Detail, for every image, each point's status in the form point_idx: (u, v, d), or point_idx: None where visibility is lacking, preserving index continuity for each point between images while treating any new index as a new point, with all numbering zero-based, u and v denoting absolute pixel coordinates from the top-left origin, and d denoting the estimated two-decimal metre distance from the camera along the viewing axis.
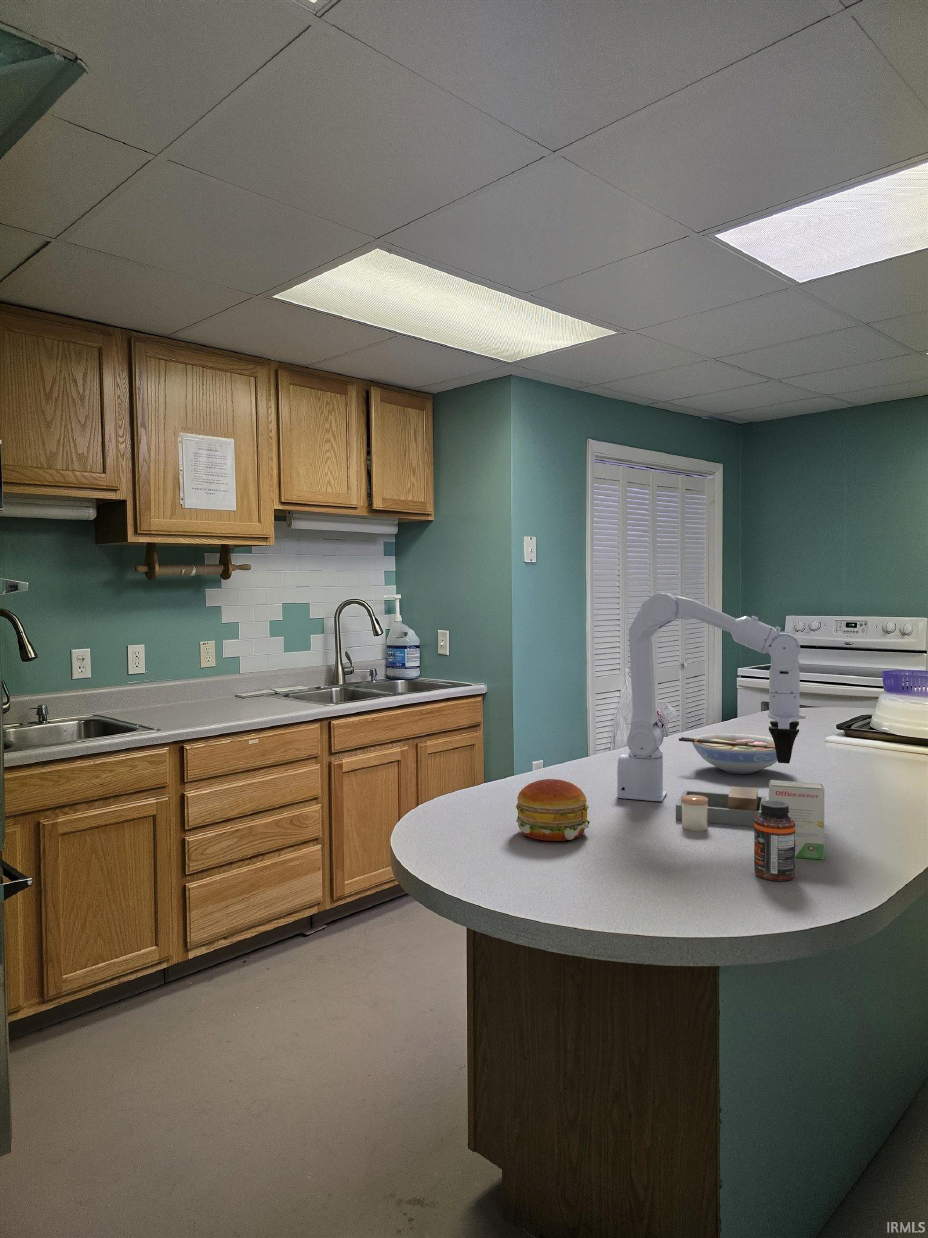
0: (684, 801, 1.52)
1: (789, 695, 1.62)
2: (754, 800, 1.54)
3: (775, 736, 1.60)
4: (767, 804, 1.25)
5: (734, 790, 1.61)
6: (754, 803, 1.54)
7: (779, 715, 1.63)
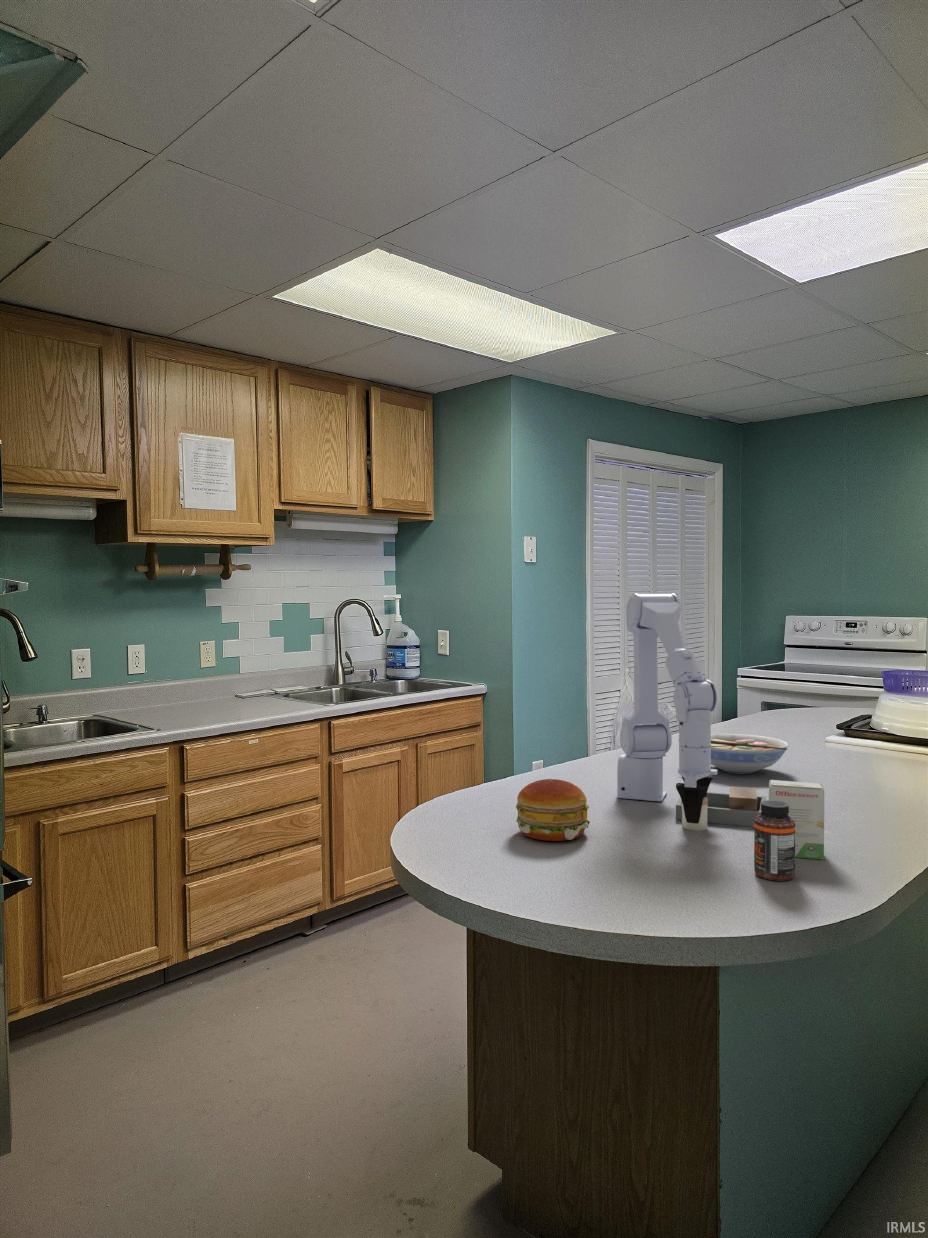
0: None
1: (698, 749, 1.50)
2: (755, 800, 1.54)
3: (682, 794, 1.48)
4: (767, 804, 1.25)
5: (734, 790, 1.61)
6: (755, 803, 1.54)
7: (688, 771, 1.50)
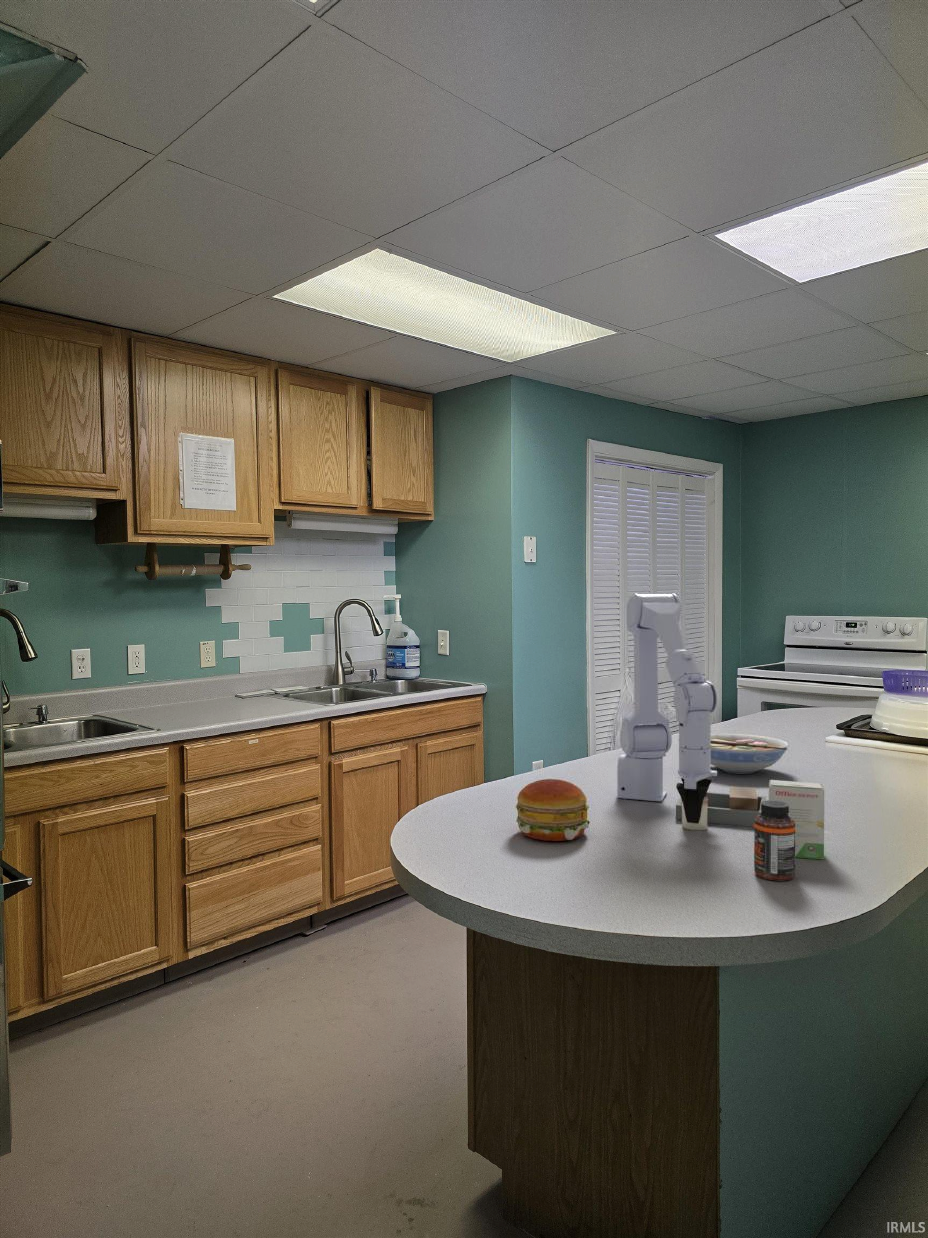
0: None
1: (698, 751, 1.50)
2: (756, 800, 1.54)
3: (683, 794, 1.49)
4: (767, 804, 1.25)
5: (734, 790, 1.61)
6: (756, 803, 1.54)
7: (688, 772, 1.50)
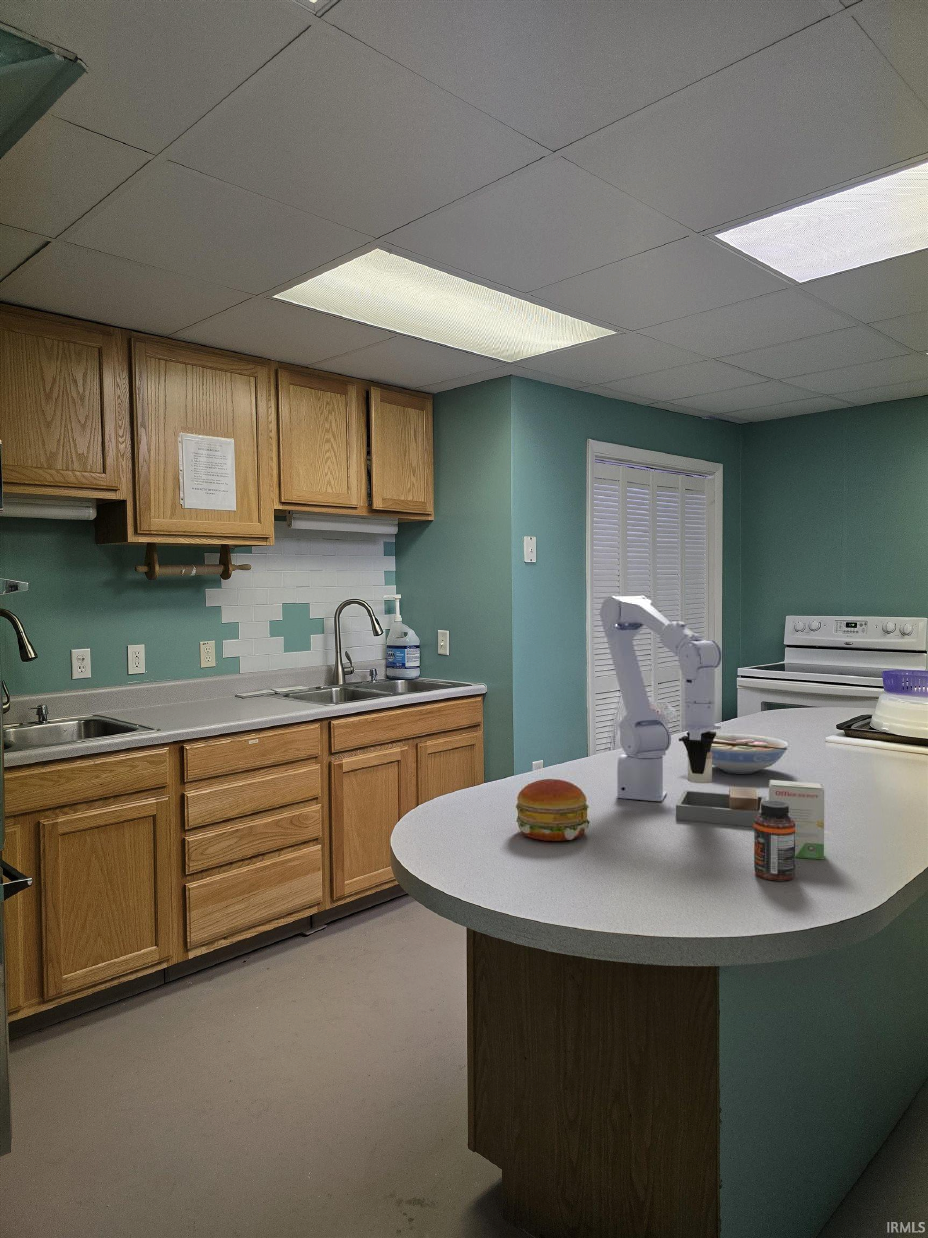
0: None
1: (703, 705, 1.58)
2: (756, 800, 1.54)
3: (688, 746, 1.57)
4: (767, 804, 1.25)
5: (733, 790, 1.61)
6: (756, 803, 1.54)
7: (693, 725, 1.58)
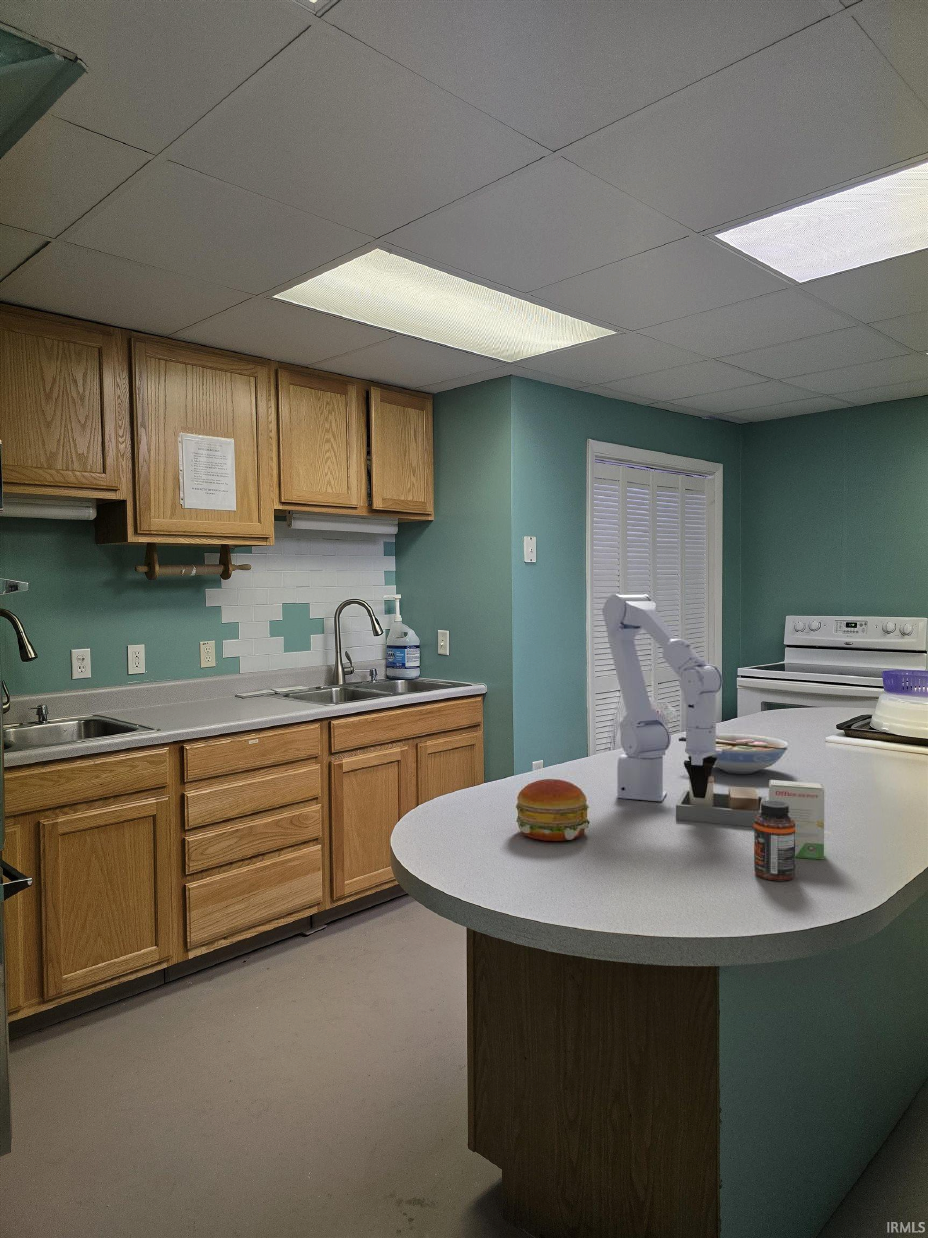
0: None
1: (704, 730, 1.59)
2: (757, 800, 1.54)
3: (690, 771, 1.59)
4: (767, 804, 1.25)
5: (733, 790, 1.61)
6: (757, 803, 1.55)
7: (694, 750, 1.60)
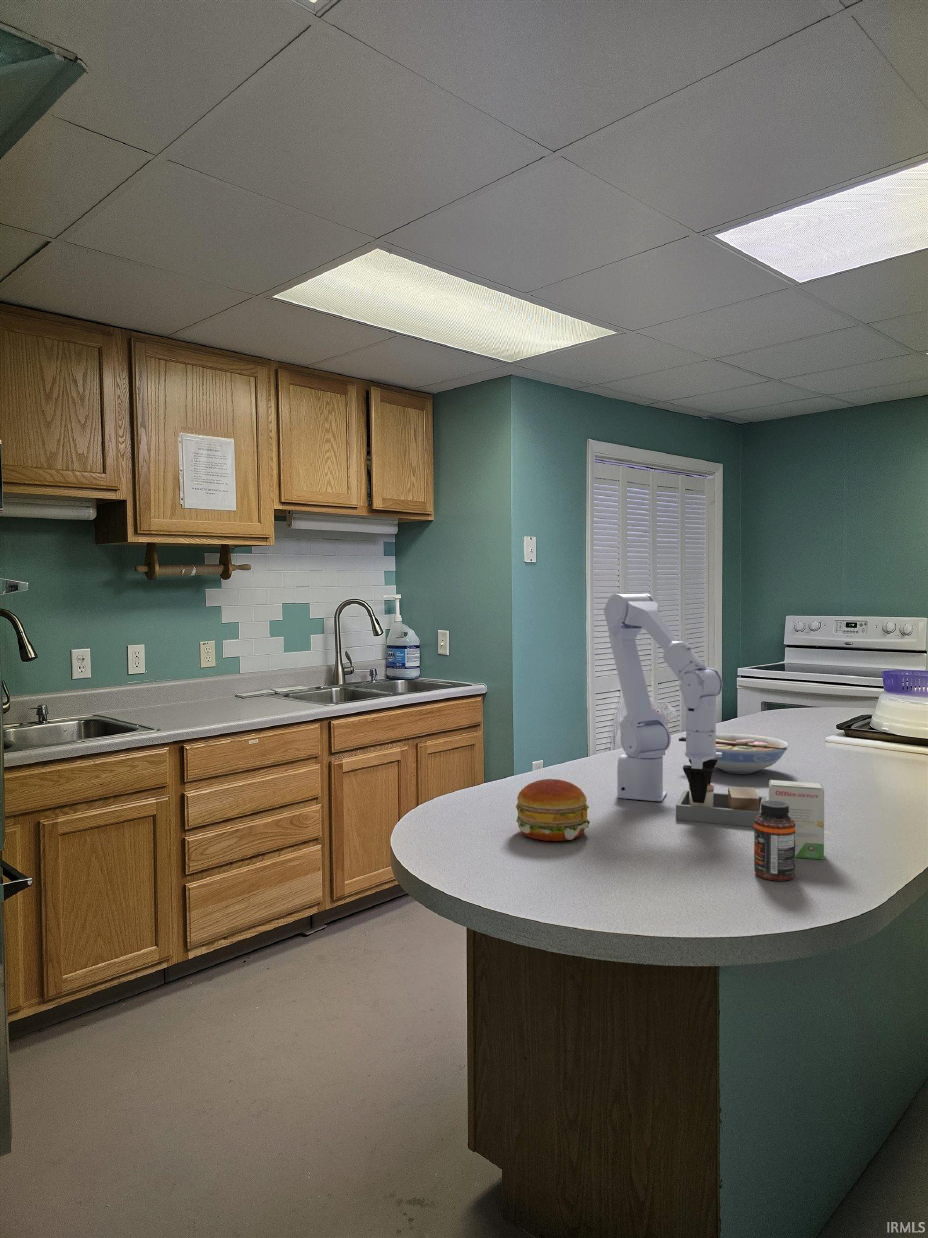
0: None
1: (704, 733, 1.59)
2: (757, 800, 1.54)
3: (689, 775, 1.58)
4: (767, 804, 1.25)
5: (733, 790, 1.61)
6: (757, 803, 1.55)
7: (694, 754, 1.60)
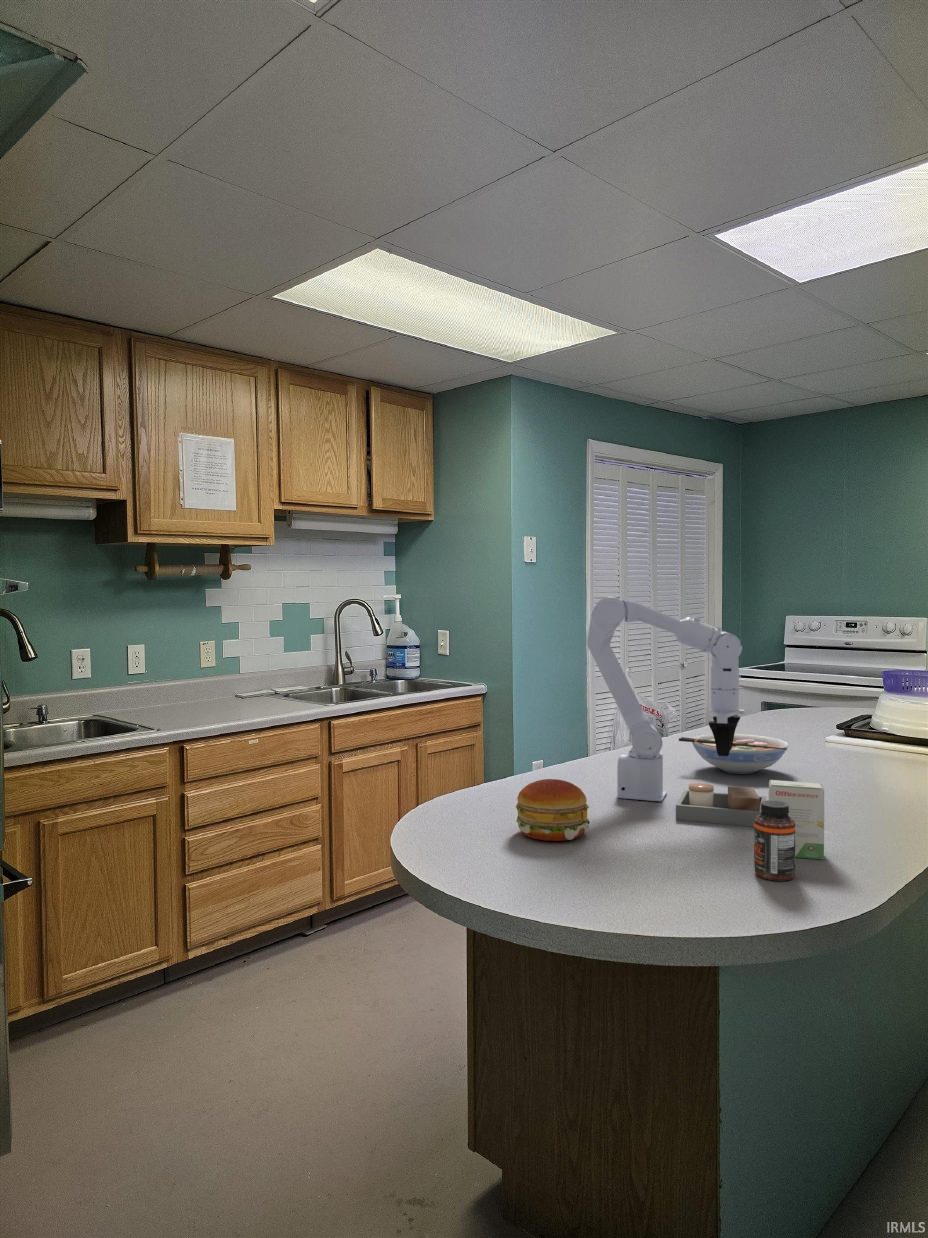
0: (691, 789, 1.61)
1: (728, 691, 1.70)
2: (758, 800, 1.55)
3: (714, 730, 1.69)
4: (767, 804, 1.25)
5: (733, 790, 1.61)
6: (758, 803, 1.55)
7: (719, 710, 1.71)
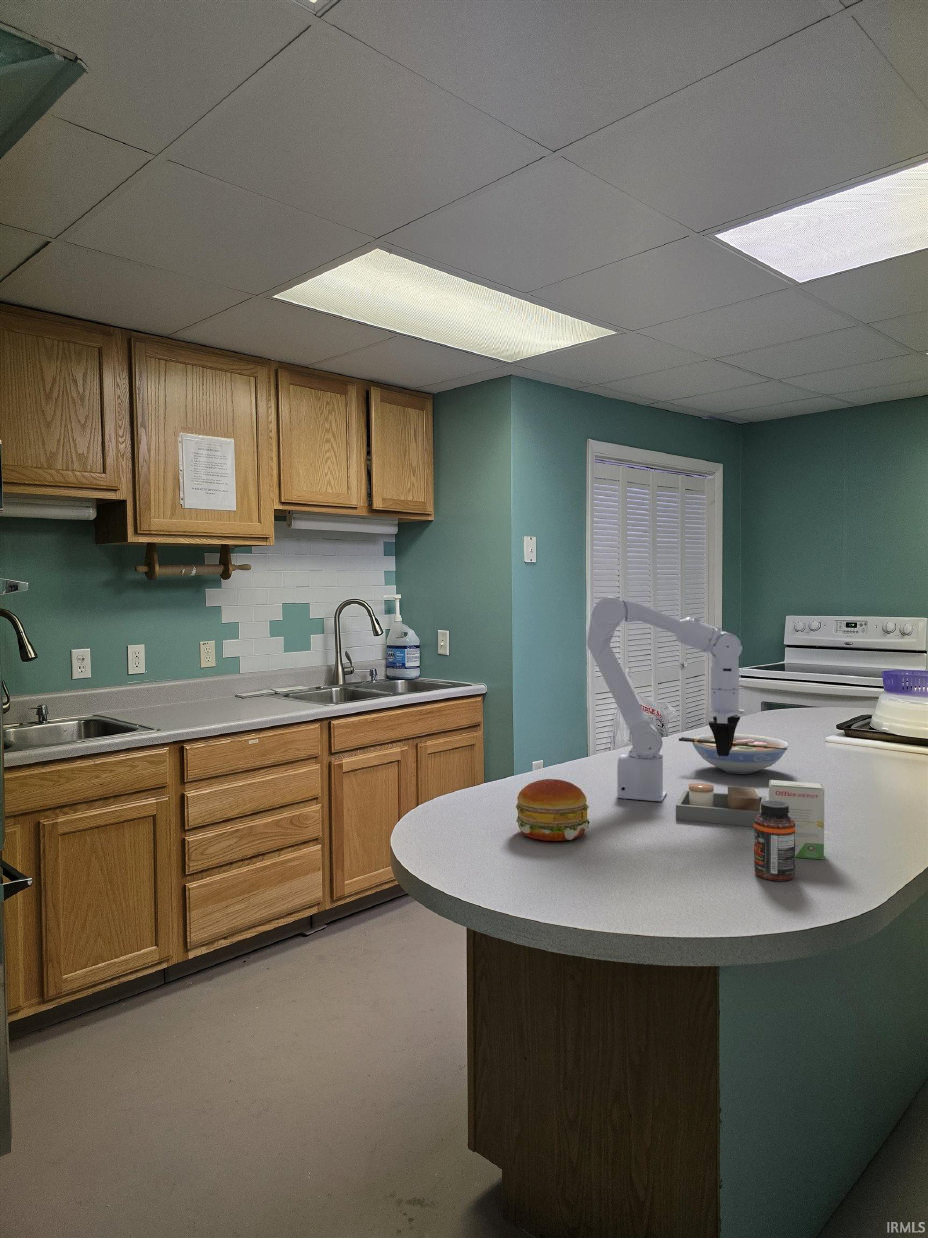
0: (691, 789, 1.61)
1: (728, 691, 1.70)
2: (758, 800, 1.55)
3: (714, 730, 1.69)
4: (767, 804, 1.25)
5: (733, 790, 1.61)
6: (758, 803, 1.55)
7: (719, 710, 1.71)
